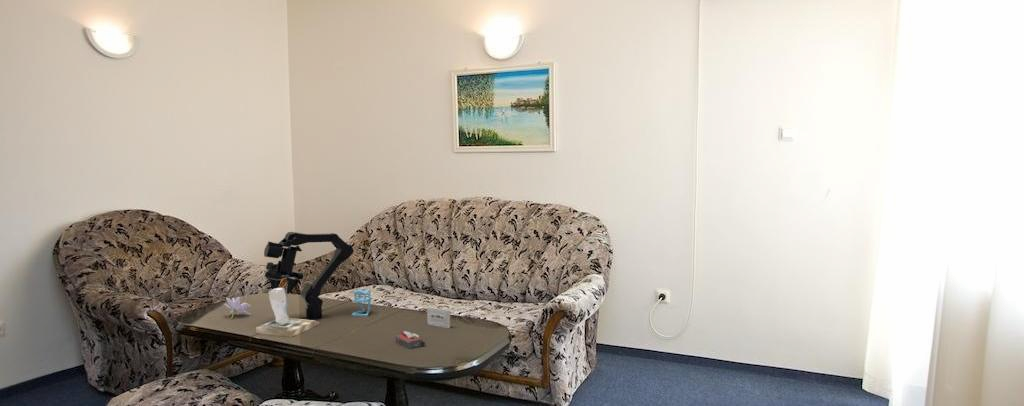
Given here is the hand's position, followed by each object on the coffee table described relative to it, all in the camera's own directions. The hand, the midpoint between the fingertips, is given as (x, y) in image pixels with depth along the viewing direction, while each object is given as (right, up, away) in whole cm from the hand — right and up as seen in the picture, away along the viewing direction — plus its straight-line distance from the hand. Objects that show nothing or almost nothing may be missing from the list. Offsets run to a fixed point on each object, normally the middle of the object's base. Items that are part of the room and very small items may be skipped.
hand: (280, 294), depth 263 cm
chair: (+33, -12, +15) cm, 38 cm away
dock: (+6, -14, -7) cm, 17 cm away
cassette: (+71, -13, -6) cm, 73 cm away
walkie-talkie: (+61, -16, -26) cm, 69 cm away
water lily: (-25, -13, +14) cm, 31 cm away
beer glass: (+5, -11, -9) cm, 15 cm away
